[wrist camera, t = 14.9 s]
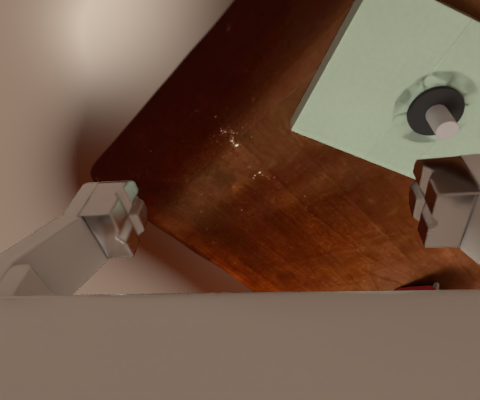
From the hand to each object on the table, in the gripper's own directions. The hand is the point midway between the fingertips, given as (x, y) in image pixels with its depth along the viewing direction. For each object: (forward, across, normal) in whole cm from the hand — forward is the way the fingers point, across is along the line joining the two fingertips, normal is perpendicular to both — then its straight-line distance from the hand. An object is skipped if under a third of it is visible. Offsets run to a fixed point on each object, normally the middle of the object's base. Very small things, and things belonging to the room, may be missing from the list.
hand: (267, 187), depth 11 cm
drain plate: (+29, -14, +13) cm, 35 cm away
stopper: (+29, -14, +13) cm, 35 cm away
